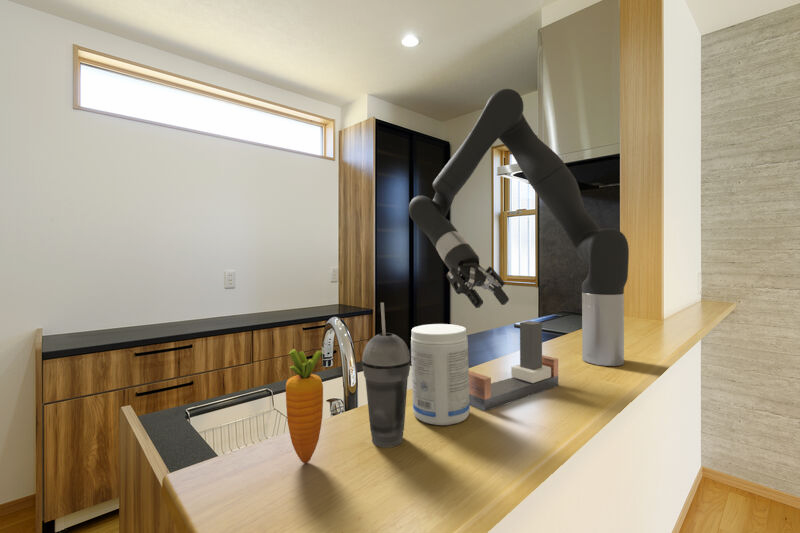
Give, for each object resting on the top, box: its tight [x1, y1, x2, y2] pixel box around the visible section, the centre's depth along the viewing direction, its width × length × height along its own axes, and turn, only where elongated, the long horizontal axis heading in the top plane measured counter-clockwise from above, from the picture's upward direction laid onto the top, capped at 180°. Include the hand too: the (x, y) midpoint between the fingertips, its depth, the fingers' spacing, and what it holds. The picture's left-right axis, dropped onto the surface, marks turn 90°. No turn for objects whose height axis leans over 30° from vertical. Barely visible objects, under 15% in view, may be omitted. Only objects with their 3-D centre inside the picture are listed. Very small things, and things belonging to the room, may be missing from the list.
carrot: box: [285, 348, 324, 464], centre depth 48 cm, size 5×5×15 cm
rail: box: [469, 354, 559, 412], centre depth 72 cm, size 22×5×6 cm, turn 125°
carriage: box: [510, 320, 551, 383], centre depth 76 cm, size 6×5×11 cm
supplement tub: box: [410, 323, 471, 426], centre depth 63 cm, size 10×10×15 cm
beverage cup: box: [360, 302, 412, 449], centre depth 54 cm, size 7×7×20 cm
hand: (493, 304), depth 83 cm, fingers open, 8 cm apart
